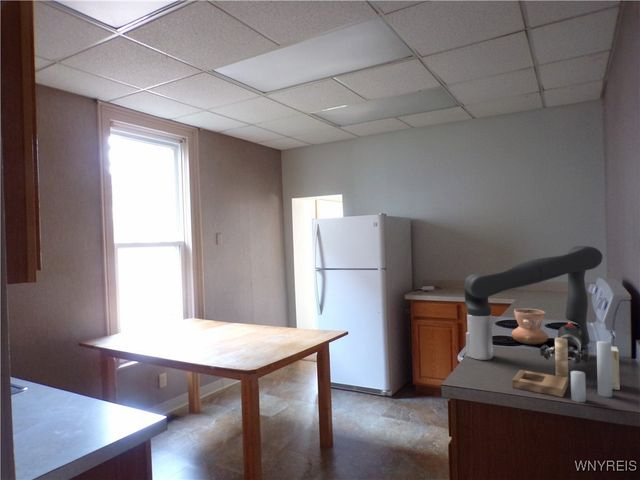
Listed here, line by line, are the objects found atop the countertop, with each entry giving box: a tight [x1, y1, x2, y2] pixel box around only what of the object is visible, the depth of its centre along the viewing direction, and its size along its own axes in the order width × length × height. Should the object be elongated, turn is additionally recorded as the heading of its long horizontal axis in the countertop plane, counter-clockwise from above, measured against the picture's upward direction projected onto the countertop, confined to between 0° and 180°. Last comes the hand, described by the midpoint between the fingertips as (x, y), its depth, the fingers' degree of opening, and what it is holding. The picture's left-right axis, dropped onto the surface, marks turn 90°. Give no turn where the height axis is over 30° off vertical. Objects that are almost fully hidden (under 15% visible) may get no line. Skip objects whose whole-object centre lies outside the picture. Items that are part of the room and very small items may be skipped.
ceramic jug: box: [511, 308, 549, 345], centre depth 180 cm, size 18×14×14 cm
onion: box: [564, 321, 577, 328], centre depth 180 cm, size 6×6×8 cm
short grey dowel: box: [570, 370, 587, 403], centre depth 119 cm, size 4×4×8 cm
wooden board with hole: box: [512, 369, 569, 398], centre depth 130 cm, size 14×11×2 cm
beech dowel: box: [554, 337, 569, 379], centre depth 134 cm, size 4×4×14 cm
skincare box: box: [611, 345, 621, 391], centre depth 128 cm, size 6×4×12 cm
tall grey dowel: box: [596, 340, 613, 398], centre depth 122 cm, size 4×4×16 cm
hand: (561, 358), depth 133 cm, fingers open, 8 cm apart
